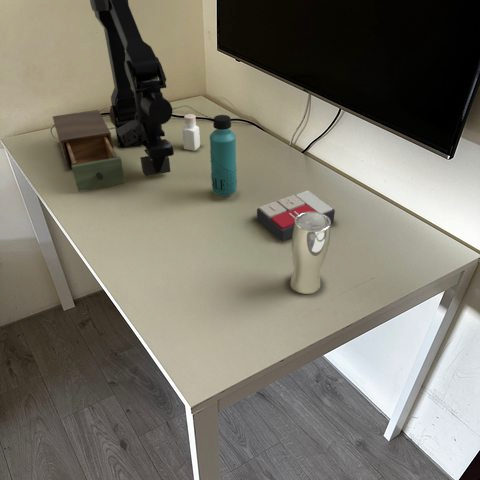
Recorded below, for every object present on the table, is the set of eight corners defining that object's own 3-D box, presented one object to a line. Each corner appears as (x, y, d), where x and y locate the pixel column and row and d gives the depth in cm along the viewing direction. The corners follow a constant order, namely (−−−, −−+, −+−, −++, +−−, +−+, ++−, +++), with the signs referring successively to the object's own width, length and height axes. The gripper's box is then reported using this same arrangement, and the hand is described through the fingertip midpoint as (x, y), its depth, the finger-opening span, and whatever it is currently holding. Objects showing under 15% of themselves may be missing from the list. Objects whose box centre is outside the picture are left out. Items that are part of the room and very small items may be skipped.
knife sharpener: (167, 166, 131) (165, 148, 127) (170, 171, 128) (168, 153, 125) (142, 171, 129) (139, 152, 125) (145, 176, 126) (142, 158, 123)
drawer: (126, 184, 125) (121, 160, 120) (79, 193, 121) (72, 169, 117) (111, 155, 137) (107, 132, 132) (68, 163, 134) (62, 140, 129)
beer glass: (285, 274, 98) (290, 211, 88) (318, 272, 99) (327, 209, 88) (290, 296, 93) (297, 232, 83) (325, 294, 94) (335, 230, 83)
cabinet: (115, 161, 136) (110, 132, 131) (68, 169, 133) (60, 140, 127) (103, 137, 149) (98, 109, 143) (60, 144, 145) (52, 116, 139)
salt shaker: (183, 149, 142) (180, 117, 135) (189, 144, 145) (186, 112, 138) (195, 151, 141) (193, 119, 134) (201, 146, 143) (199, 114, 137)
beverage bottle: (238, 189, 124) (237, 111, 110) (235, 202, 120) (234, 122, 106) (213, 188, 125) (210, 110, 111) (210, 201, 120) (205, 121, 106)
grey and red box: (256, 206, 111) (308, 187, 116) (256, 221, 114) (307, 202, 119) (281, 228, 104) (336, 207, 109) (281, 244, 107) (334, 223, 112)
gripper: (108, 101, 121) (119, 159, 132) (124, 129, 109) (135, 190, 120) (150, 95, 124) (158, 153, 135) (171, 121, 112) (177, 182, 123)
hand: (156, 169), depth 128 cm, fingers closed on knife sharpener, 3 cm apart
